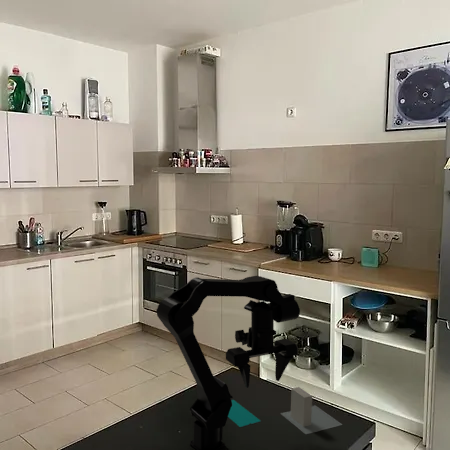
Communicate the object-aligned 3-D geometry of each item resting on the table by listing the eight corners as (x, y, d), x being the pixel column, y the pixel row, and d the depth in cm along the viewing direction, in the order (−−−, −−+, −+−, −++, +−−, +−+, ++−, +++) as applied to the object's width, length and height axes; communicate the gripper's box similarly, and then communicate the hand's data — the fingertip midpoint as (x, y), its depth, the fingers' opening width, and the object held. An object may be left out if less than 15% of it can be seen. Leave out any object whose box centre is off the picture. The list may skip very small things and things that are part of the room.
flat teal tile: (233, 398, 137) (262, 421, 124) (233, 401, 137) (262, 424, 124) (211, 404, 134) (239, 427, 121) (211, 407, 134) (239, 430, 121)
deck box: (303, 426, 122) (304, 397, 121) (290, 416, 127) (291, 388, 126) (311, 424, 123) (312, 395, 122) (298, 414, 128) (299, 386, 128)
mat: (305, 435, 118) (305, 434, 118) (280, 414, 129) (280, 413, 129) (342, 426, 123) (342, 424, 123) (315, 406, 134) (315, 405, 134)
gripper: (276, 312, 130) (276, 366, 132) (216, 321, 122) (217, 378, 124) (299, 323, 120) (299, 381, 122) (235, 334, 112) (235, 396, 114)
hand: (262, 383), depth 120 cm, fingers open, 9 cm apart
